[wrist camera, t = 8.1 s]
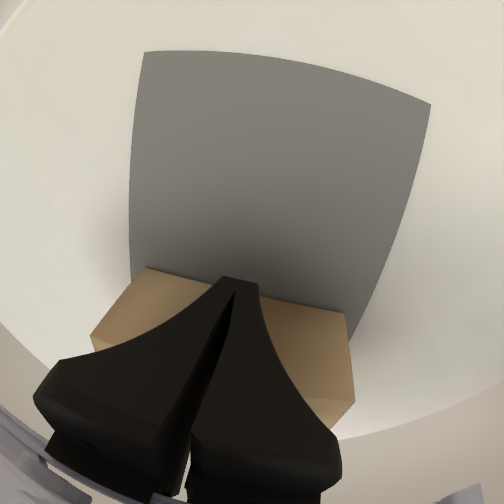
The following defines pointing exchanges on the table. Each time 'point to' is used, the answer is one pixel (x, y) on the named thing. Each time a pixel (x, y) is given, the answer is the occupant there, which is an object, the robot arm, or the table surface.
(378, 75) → the table surface
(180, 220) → the rubber mat
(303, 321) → the oak block
